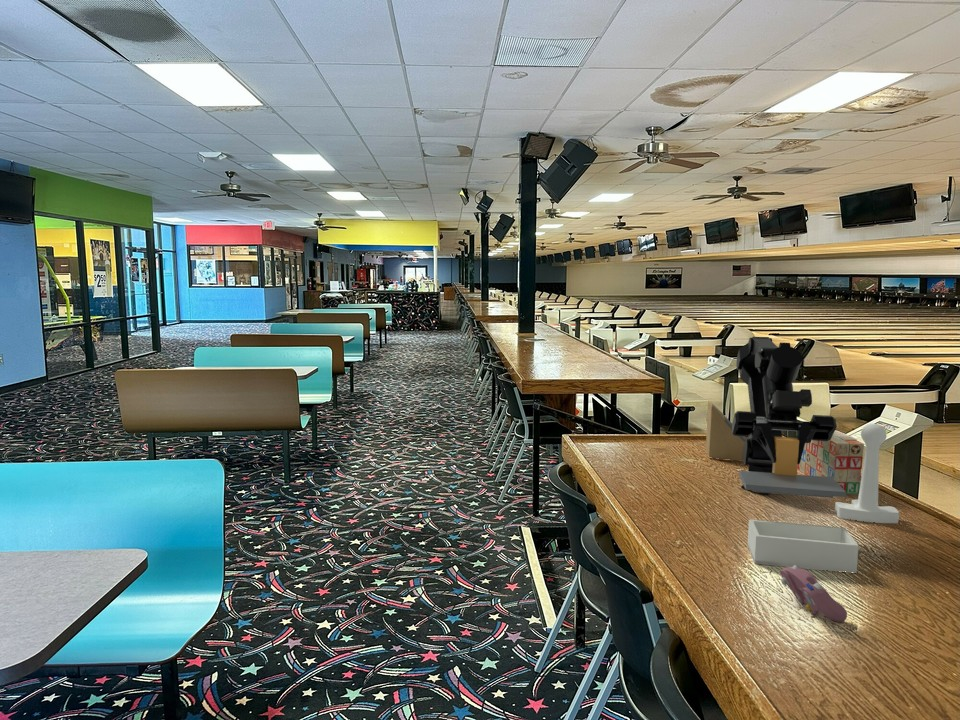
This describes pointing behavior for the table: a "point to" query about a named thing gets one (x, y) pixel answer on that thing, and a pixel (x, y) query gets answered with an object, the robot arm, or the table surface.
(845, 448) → the stack of blocks
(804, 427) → the robot arm
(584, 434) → the table surface
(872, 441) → the joystick
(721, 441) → the sandwich container
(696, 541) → the table surface
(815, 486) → the lid
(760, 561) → the tub
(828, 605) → the video game controller
